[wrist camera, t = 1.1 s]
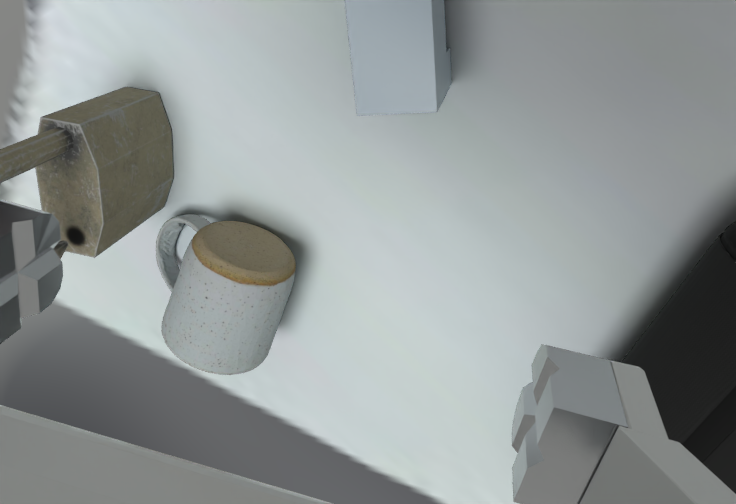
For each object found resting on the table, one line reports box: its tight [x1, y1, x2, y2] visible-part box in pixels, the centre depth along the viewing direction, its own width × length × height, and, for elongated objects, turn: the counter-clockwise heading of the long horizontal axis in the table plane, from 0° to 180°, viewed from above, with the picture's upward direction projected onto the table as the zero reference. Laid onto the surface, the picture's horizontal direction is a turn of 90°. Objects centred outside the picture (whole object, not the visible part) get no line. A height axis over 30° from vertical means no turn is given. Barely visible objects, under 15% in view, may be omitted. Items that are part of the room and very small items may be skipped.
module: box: [345, 0, 452, 116], centre depth 32 cm, size 4×8×7 cm, turn 6°
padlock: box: [0, 87, 174, 259], centre depth 36 cm, size 4×8×15 cm, turn 174°
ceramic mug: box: [156, 214, 296, 375], centre depth 41 cm, size 11×8×8 cm
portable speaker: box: [621, 222, 736, 494], centre depth 36 cm, size 26×10×10 cm, turn 159°
